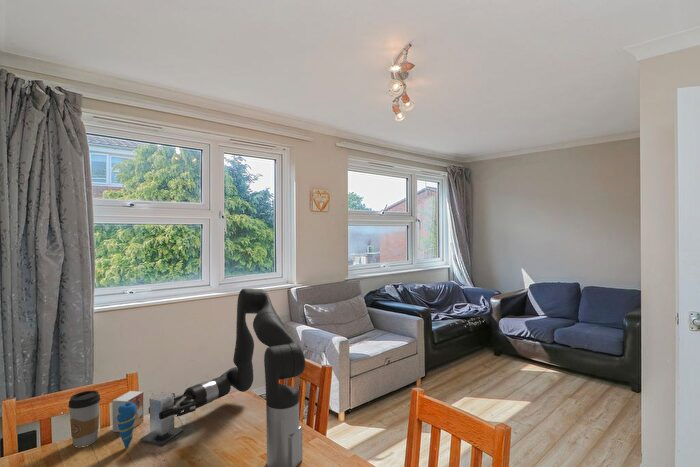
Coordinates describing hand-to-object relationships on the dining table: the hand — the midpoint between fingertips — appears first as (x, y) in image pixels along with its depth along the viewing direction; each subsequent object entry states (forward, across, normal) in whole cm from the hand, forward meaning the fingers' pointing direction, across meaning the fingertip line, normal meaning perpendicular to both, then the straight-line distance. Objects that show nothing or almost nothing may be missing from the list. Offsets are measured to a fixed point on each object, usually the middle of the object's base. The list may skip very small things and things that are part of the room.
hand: (154, 413), depth 123 cm
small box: (+1, -16, +9) cm, 18 cm away
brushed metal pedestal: (-2, 0, +6) cm, 7 cm away
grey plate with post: (-2, 0, +9) cm, 9 cm away
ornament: (+7, -2, +8) cm, 11 cm away
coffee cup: (+13, -16, +8) cm, 23 cm away
